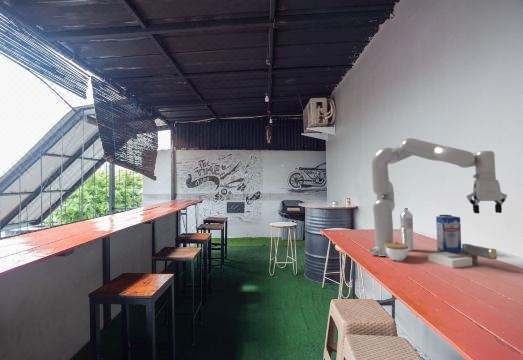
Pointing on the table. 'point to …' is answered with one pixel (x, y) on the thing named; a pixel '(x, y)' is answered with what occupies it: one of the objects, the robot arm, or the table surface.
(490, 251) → the latch bar
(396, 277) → the table surface
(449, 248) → the milk carton
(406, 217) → the water bottle
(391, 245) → the lidded jar
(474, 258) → the jamb block
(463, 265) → the door panel
